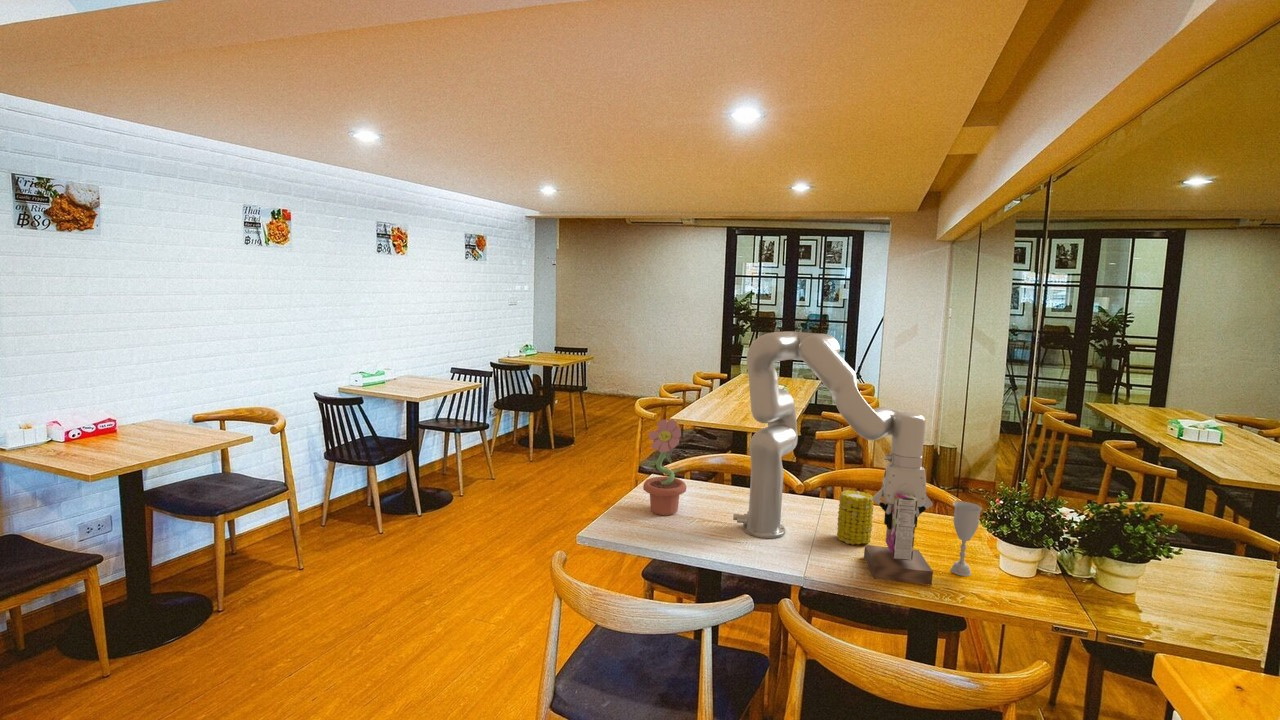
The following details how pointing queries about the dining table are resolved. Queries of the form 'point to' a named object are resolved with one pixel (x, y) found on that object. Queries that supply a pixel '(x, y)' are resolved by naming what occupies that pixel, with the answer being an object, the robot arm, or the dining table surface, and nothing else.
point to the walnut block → (897, 566)
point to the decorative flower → (664, 471)
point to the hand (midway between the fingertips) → (899, 527)
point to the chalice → (965, 531)
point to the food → (855, 517)
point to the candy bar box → (902, 527)
